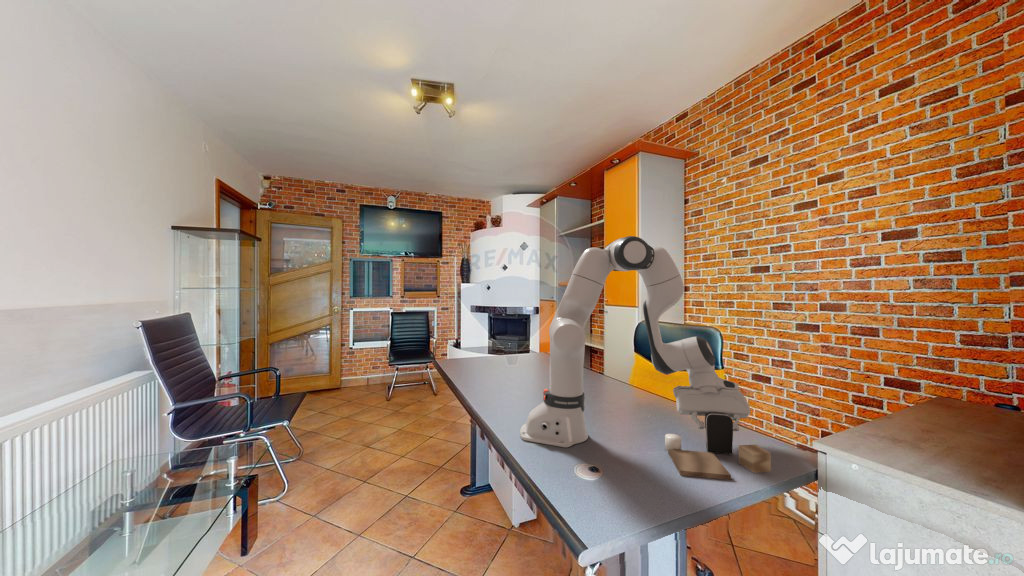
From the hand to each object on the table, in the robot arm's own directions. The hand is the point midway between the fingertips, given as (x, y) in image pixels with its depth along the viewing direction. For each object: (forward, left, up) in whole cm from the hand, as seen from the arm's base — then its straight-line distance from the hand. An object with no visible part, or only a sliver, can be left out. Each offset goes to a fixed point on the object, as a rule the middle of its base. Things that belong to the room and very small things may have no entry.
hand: (718, 429), depth 101 cm
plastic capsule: (-13, -2, -7) cm, 15 cm away
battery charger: (0, 0, -7) cm, 7 cm away
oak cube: (+6, -8, -7) cm, 12 cm away
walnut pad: (-9, -10, -6) cm, 15 cm away
